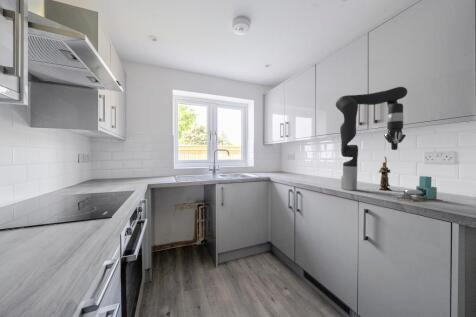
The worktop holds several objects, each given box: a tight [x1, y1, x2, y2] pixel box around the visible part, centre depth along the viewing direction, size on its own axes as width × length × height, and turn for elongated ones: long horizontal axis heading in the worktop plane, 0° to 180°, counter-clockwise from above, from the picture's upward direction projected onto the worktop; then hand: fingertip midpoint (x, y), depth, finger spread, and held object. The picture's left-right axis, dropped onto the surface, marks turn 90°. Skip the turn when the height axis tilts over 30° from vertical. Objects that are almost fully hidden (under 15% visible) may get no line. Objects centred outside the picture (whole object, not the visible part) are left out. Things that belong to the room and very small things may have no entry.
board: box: [397, 196, 443, 202], centre depth 111 cm, size 20×8×1 cm, turn 97°
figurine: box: [378, 156, 392, 192], centre depth 142 cm, size 6×10×25 cm
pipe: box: [401, 186, 438, 200], centre depth 111 cm, size 18×4×7 cm, turn 97°
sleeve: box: [415, 175, 434, 199], centre depth 111 cm, size 4×6×12 cm, turn 7°
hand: (394, 149), depth 116 cm, fingers closed
